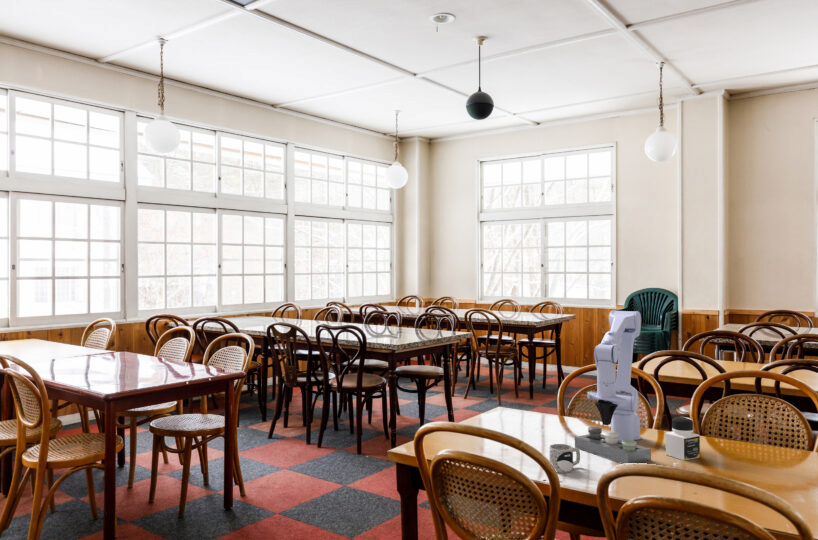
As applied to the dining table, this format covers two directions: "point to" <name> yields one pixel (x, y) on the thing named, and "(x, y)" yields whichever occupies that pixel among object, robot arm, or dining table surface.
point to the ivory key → (611, 438)
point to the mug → (563, 457)
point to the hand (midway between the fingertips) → (606, 424)
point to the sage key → (629, 445)
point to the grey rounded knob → (595, 433)
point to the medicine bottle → (682, 440)
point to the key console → (612, 450)
